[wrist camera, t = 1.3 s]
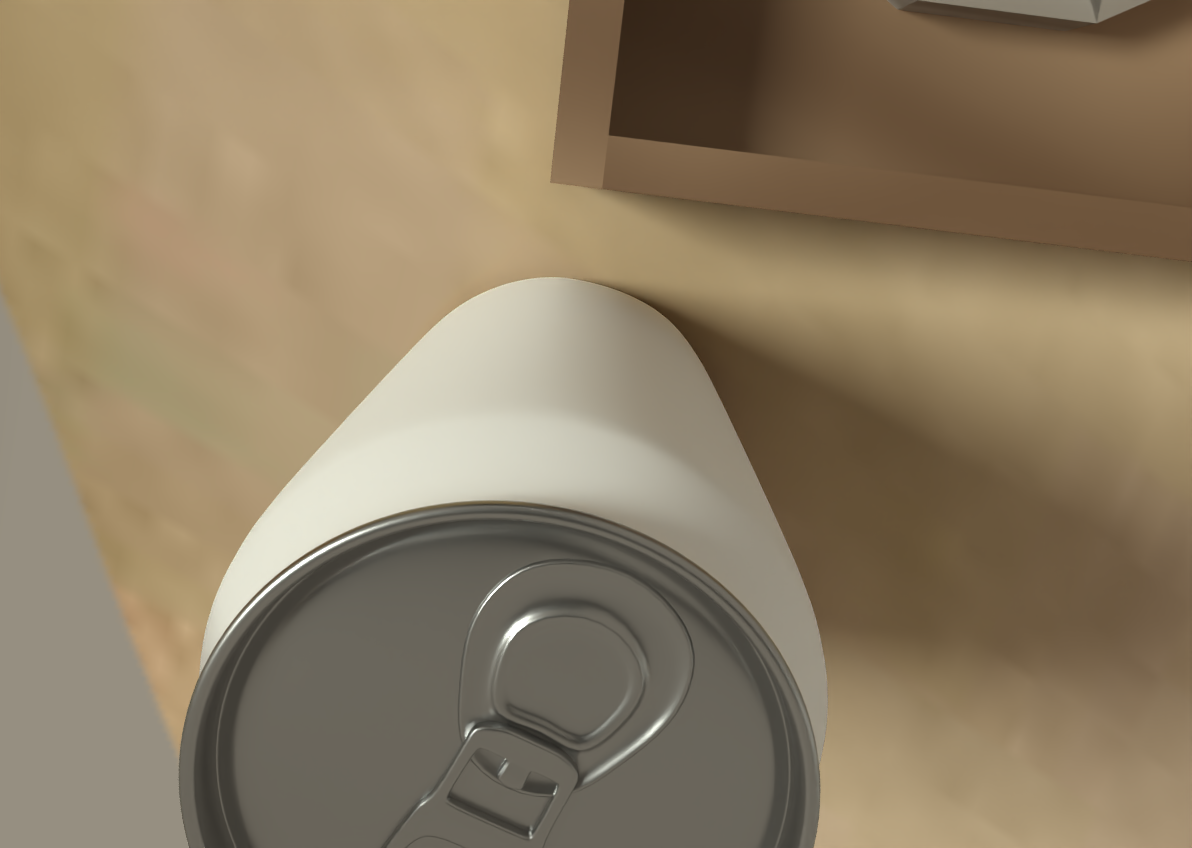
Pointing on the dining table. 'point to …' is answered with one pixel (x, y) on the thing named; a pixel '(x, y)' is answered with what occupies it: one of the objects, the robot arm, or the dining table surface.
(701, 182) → the walled box
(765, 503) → the can
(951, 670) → the dining table surface
